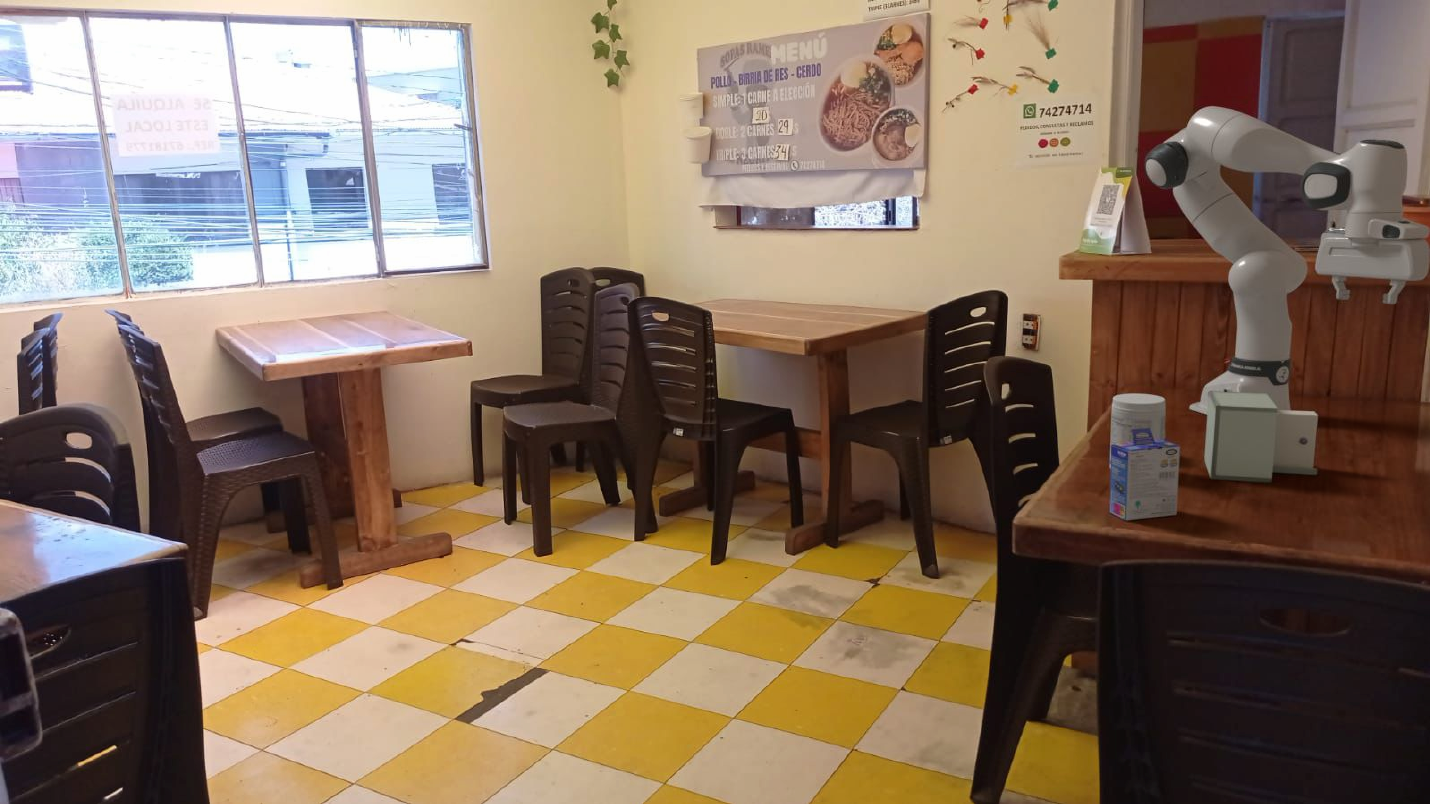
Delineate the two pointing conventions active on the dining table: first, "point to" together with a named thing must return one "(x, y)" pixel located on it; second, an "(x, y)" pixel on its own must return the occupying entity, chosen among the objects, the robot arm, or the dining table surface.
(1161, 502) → the ink cartridge box
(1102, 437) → the dining table surface
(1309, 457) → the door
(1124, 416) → the supplement tub
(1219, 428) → the cabinet
